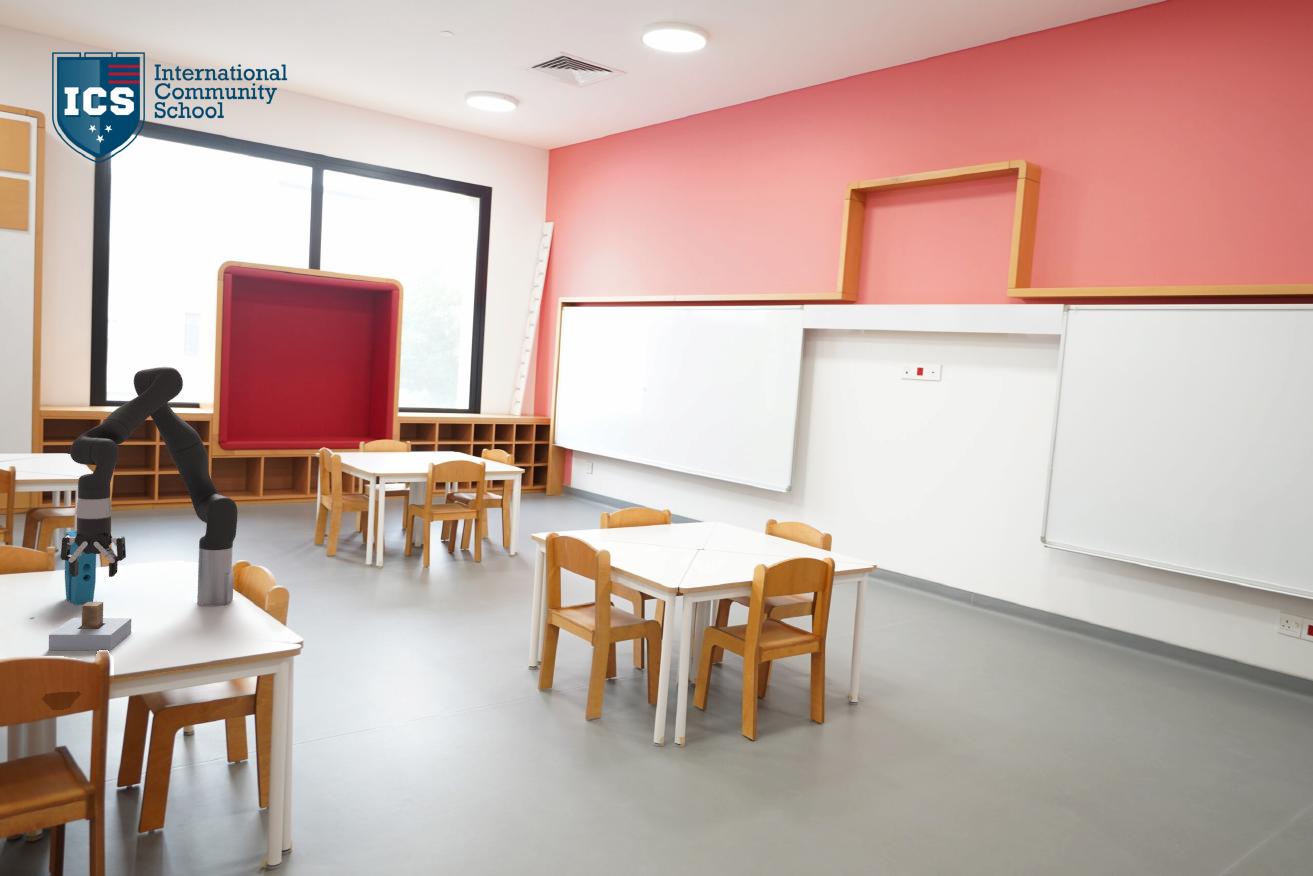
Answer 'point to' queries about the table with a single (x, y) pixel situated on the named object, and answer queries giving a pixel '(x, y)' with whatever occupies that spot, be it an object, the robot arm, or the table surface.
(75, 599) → the block
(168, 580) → the table surface
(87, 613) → the walnut peg
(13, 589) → the table surface
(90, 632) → the socket block
